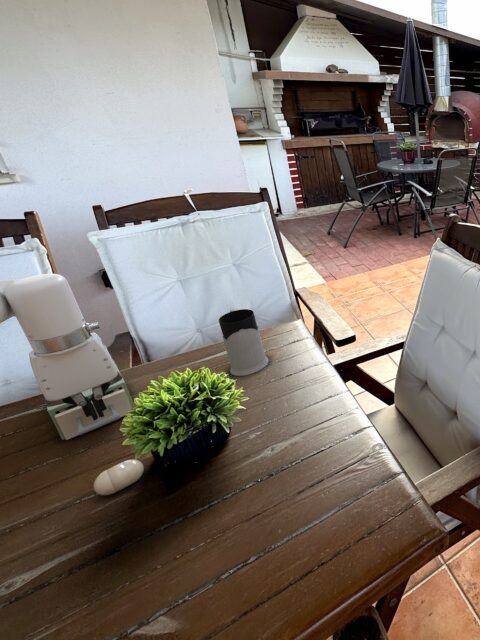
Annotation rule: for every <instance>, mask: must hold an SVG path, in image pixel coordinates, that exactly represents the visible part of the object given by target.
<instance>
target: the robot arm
mask: <svg viewBox="0 0 480 640" xmlns="http://www.w3.org/2000/svg"><path fill="white" fill-rule="evenodd" d="M13 317H15V318H16V320H17V322H18V324H19V326H20V328H21V330H22V331H23V334H24V335H25V337H26V339H27V341H28V343H29V345H30V347H31V349H32V350H31V351H30V352H29V353H28V358H29V362H30V367H31V370H32V372H33V375H34V378H35V381H36V382H37V385H38V387H39V389H40V392H41V393H42V396H43V397H44V399H45V398H46V400H45V405H46V408H47V407H52V406H56V405H60V404H63V403H66V404H74V405H78V406H80V407H82V409H83V411H84V413H85V415H86V417H89V416H92V418H93V420H97V419H98V416H99V418H100V417H101V418H102V417H104V414H103V411H104V410H106V409H107V408H106V406H105V404H104V401H103V399H102V398H103V395H104V393H105V392H106V391H107V389H108V388H109V386H111V385H113V384H115V383H117V382H118V381H120V380H122V377H123V376H121V375H122V373H121V372H120V371H119V372H120V373H119V372H118V371H117V369H116V366H117V365H116V366H115V364H116V363H115V364H114V362H115V360H114V359H113V357H112V355H111V353H110V352H109V350H108V347H107V346H106V345H105V343H104V341H103V340H102V338H101V337H100V336H99V335H98V334H97V333H96V332H94V331H96V330H99V329H100V326H99V323H98V321H96V322H93V323H92V322H90V323H89V322H86V319H85V318H84V315H83V312H82V311H81V308H80V306H79V304H78V302H77V300H76V297H75V295H74V292H73V290H72V288H71V285H70V283H69V282H68V279H67V278H66V277H65V276H63V275H61V274H59V273H42V274H41V273H40V274H36V275H30V276H27V277H23V278H17V279H14V278H13V279H0V325H1V324H2V323H4V322H6V321H7V320H9V319H11V318H13ZM113 360H114V361H113ZM91 388H92V395H91V400H92V402H91V400H90V398H88V397H85V396H84V395H83V394H82V392H83V391H85V390H88V389H91ZM92 403H93V404H92ZM93 405H94V406H93ZM94 407H95V408H94ZM95 409H96V411H97V413H98V416H97V413H96V411H95Z"/></svg>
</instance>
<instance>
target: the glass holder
mask: <svg viewBox="0 0 480 640" xmlns="http://www.w3.org/2000/svg"><path fill="white" fill-rule="evenodd" d="M218 323H219V327H220V329H221V330H220V331H221V334H222V340H223V344H224V346H225V350H226V355H227V358H228V360H229V365H230V370H229V371H230V374H231V375H233V376H237V377H243V376H244V377H245V376H249V375H251V374H254V373H255V374H256V373H257V372H259V371H261V370H262V369H264V368H265V367H266V366H267V365H268V364H269V358H268V357H267V355H266V351H265V349H264V345H263V341H262V336H261V333H260V330H259V326H258V325H257V320H256V315H255V313H254V311H253V310H252V309H250V308H249V309H248V308H243V309H235V310H234V309H233V308H232V309H229V312H227V313H224V314H223V315H221V316H220V317H219V318H218Z"/></svg>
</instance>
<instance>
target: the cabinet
mask: <svg viewBox="0 0 480 640" xmlns="http://www.w3.org/2000/svg"><path fill="white" fill-rule="evenodd" d="M113 361H114V364H115V366H116V369H117V371H118V372H119V373H120V374H121V372H120V370H119V368H118V365H117V364H116V361H115V360H114V359H113ZM121 376H122V374H121ZM116 388H118V389H119V390H121V389H124V391H125V393H126V395H127V398H128V400H129V403H130V405H131V407H132V409H133V408H134V406H135V404H134V401H133V398H132V396H131V393H130V391H129V388H128V386H127V384H126V382H125V379H124V377H123V376H122V380H120V381H118V382H117V383H115V384H113V385H111V386H109V388H108V389H107V391H106V392H108V391H111V390H114V389H116ZM106 392H105V393H106ZM82 394H83V395H84V396H85V397H88V398H91V395H92V388H91V389H88V390H85V391H83V392H82ZM44 400H45V401H46V398H45V397H44ZM72 405H74V404H66V403H63V404H60V405H56V406H52V407H47V406H46V409H47V412H48V414H49V416H50V418H51V420H52V422H53V424H54V426H55V429H56V431H57V433H58V434H59V436H60V438H61V440H62V441H64V440H66V439H65V437H64V435H63V433H62V431H61V429H60V427H59V425H58V423H57V421H56V419H55V415H56V414H59V413H60V412H59V410H61V409H64V408H66V407H69V406H72Z"/></svg>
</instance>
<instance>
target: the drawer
mask: <svg viewBox="0 0 480 640" xmlns="http://www.w3.org/2000/svg"><path fill="white" fill-rule="evenodd" d="M102 399H103V401H104V404H105V406H106V408H107V409H106V410H104V411H103V414H104V417H102V418H101V417H100V418H99V416H98V413H97V411H96V409H95V411H96V413H97V416H98V419H97V420H93V418H92V416H89V417H86V415H85V413H84V411H83V409H82V407H80V406H78V405H72V406H69V407H66V408H64V409H61V410H59V412H60V413H59V414H56V415H55V419H56V421H57V423H58V425H59V427H60V429H61V431H62V433H63V435H64V437H65V439H64V440H66V441H68V440H70V439H72V438H75V437H77V436H82V435H85V434H87V433H89V432H91V431H94V430H97V429H99V428H101V427H104V426H105V425H108V424H111V423H113V422H115V421H117V420H120V419H121V418H122V417H125V416H127V415H128V414H127V413H128V411H130V410H131V409H132V407H131V405H130V403H129V400H128V398H127V395H126V393H125V391H124V389H121V390H119V389H118V388H116V389H114V390H111V391H108V392H106V393H104V395H103V398H102ZM90 400H91V398H90ZM91 402H92V400H91ZM92 404H93V403H92ZM93 406H94V405H93ZM94 408H95V407H94ZM126 414H127V415H126Z"/></svg>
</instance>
